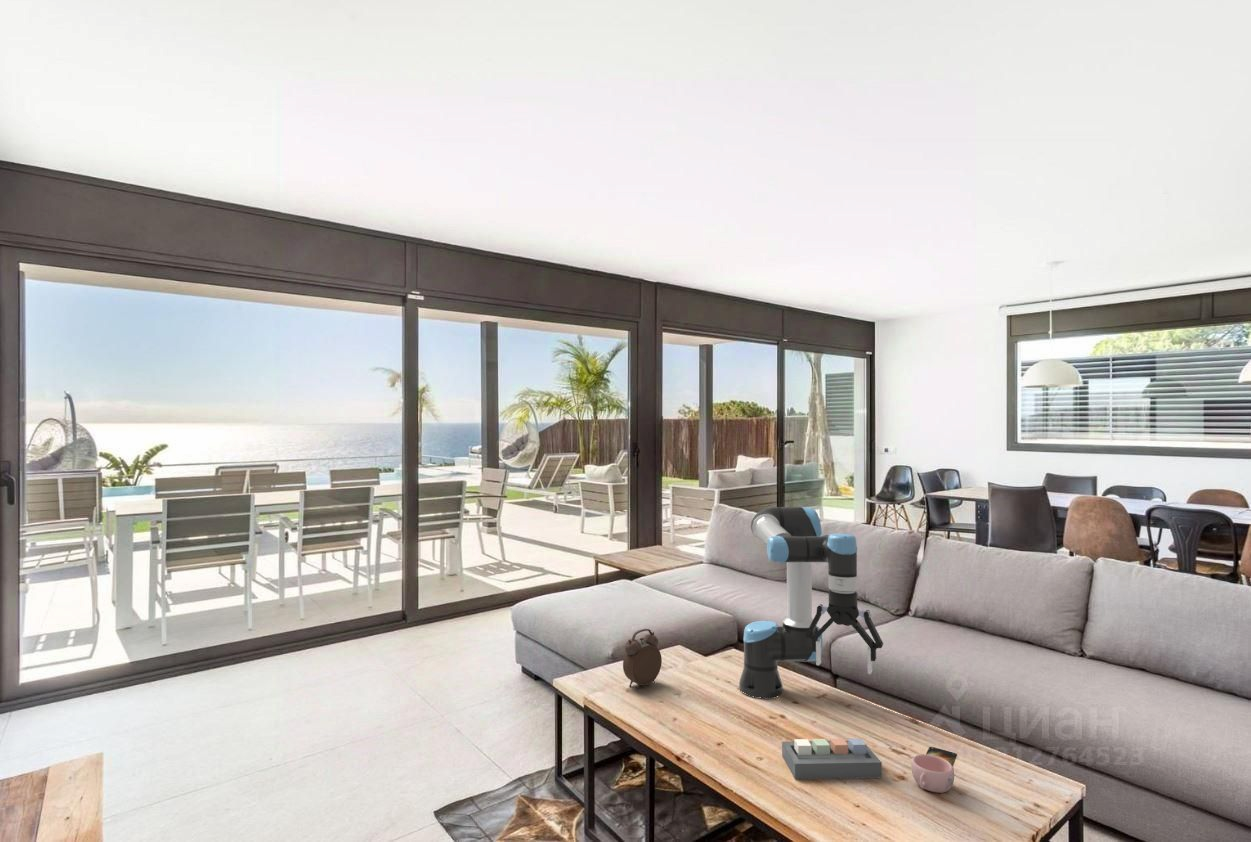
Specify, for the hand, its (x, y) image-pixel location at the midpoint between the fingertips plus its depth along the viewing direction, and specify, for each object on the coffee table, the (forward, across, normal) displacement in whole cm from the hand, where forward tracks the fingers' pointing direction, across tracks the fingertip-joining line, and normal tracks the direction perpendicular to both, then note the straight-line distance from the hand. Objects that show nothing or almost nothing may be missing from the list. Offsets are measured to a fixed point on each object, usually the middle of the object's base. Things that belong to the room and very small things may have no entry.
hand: (843, 668), depth 173 cm
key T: (+22, -1, -2) cm, 22 cm away
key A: (+22, +3, 0) cm, 22 cm away
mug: (+26, +21, -1) cm, 34 cm away
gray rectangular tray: (+26, -3, -4) cm, 26 cm away
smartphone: (+26, +22, +14) cm, 37 cm away
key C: (+22, -5, -5) cm, 23 cm away
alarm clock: (+25, -74, +20) cm, 81 cm away
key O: (+22, -10, -8) cm, 25 cm away
